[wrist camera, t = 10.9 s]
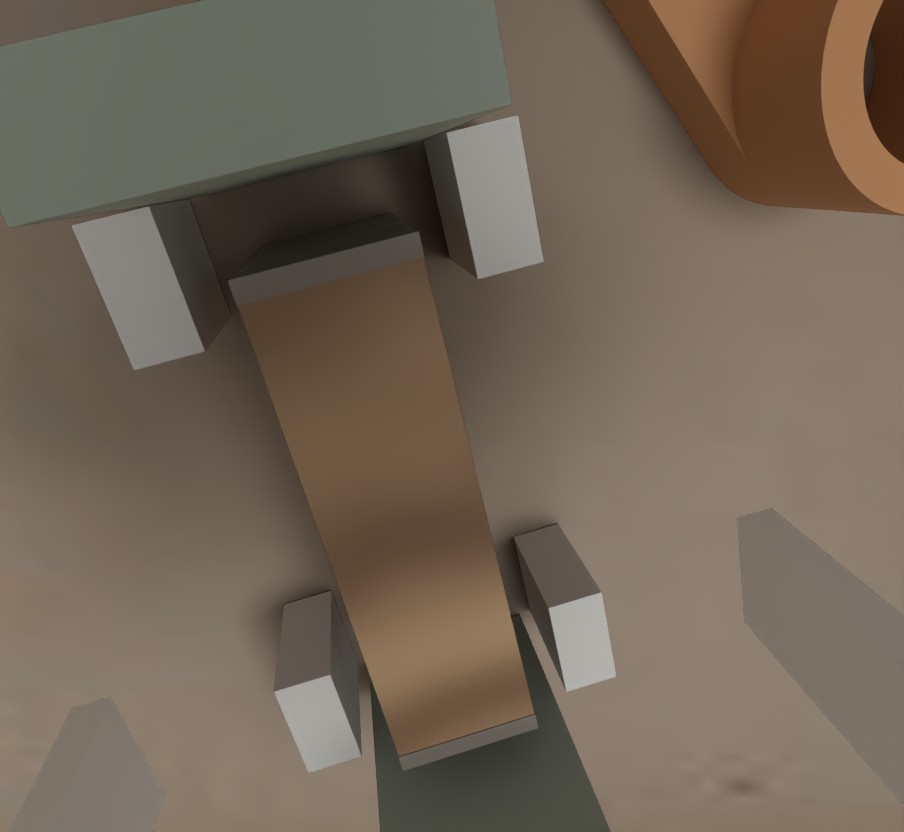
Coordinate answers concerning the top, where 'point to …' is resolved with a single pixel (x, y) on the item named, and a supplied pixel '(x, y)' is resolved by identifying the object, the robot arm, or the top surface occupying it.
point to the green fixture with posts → (206, 312)
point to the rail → (389, 478)
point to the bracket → (783, 94)
